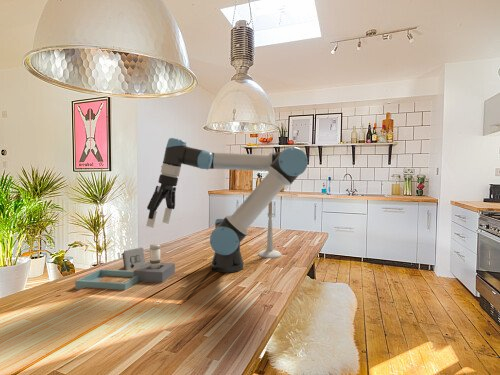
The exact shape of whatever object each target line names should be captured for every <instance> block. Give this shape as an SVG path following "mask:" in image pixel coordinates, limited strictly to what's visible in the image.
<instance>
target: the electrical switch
mask: <svg viewBox="0 0 500 375" xmlns="http://www.w3.org/2000/svg"><path fill="white" fill-rule="evenodd" d="M121 256H122V261H123V268H124V269H125V271H131V270H132V269H137V268H139V267H141V266H143V265H144V264H146V263H147V262H146V257H145V251H144V247H137V248H132V249H128V250H124V251H123V252H122V255H121Z"/></svg>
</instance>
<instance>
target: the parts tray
mask: <svg viewBox="0 0 500 375" xmlns="http://www.w3.org/2000/svg"><path fill="white" fill-rule="evenodd" d="M107 276H108V277H109V276H110V277H111V276H112V277H125V278H126V277H127V278H130V279H128V280H127V281H125V282H115V281H103V280H102V279H104V278H106V277H107ZM101 280H102V281H101ZM138 282H139V281H138V276H135V277H134V270H123V269H121V270H120V269H106V268H105V269H104V268H103V269H102V268H100V269H97V270H95V271H93V272H91V273H89V274H87V275H85V276H83V277H80V278H78V279H75V281H74V284H75V286H74V287H75V290H83V289H84V288H92V289H94V288H95V289H108V290H120V291H121V290H123V291H125V290H128V289H129V288H131V286H133V285H135V284H136V283H138Z"/></svg>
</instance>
